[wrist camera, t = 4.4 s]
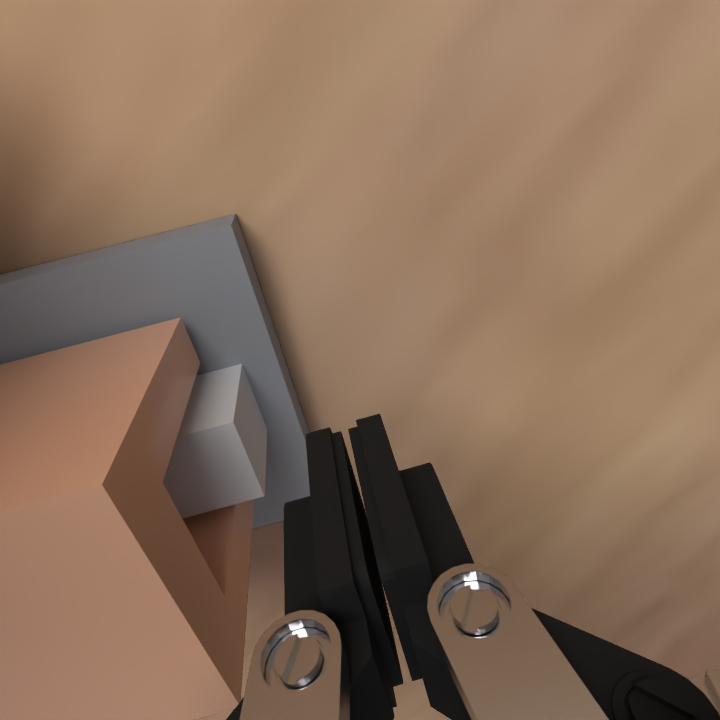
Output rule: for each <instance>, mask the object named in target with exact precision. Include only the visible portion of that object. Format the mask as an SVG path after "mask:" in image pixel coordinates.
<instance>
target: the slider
mask: <svg viewBox="0 0 720 720" xmlns="http://www.w3.org/2000/svg"><path fill="white" fill-rule="evenodd" d="M199 365H200V361H199V358H198V356H197V354H196V351H195V349H194V347H193V345H192V342H191V340H190V338H189V335H188V333H187V331H186V328H185V326H184V324H183V321H182V319H181V317H180V318H176V319H173V320H169V321H165V322H161V323H157V324H153V325H150V326H146V327H142V328H138V329H134V330H131V331H127V332H123V333H119V334H115V335H111V336H108V337H104V338H100V339H96V340H92V341H89V342H85V343H81V344H77V345H73V346H69V347H66V348H62V349H58V350H54V351H50V352H47V353H43V354H39V355H35V356H31V357H27V358H24V359H20V360H16V361H12V362H8V363H5V364H1V365H0V720H195V719H198V718H202V717H206V716H209V715H213V714H216V713H220V712H223V711H227V710H231V709H234V708H236V707H237V705H238V704H239V703H240V702H241V689H242V674H243V659H244V644H245V629H246V614H247V599H248V585H249V570H250V555H251V540H252V525H253V510H254V499H253V500H249V501H245V502H242V503H238V504H234V505H231V506H227V507H223V508H219V509H216V510H212V511H208V512H205V513H201V514H197V515H194V516H190V517H186V518H183V519H182V517H181V515H180V514H179V512H178V510H177V508H176V506H175V504H174V503H173V501H172V499H171V497H170V495H169V493H168V492H167V490H166V488H165V486H164V484H163V480H164V477H165V474H166V471H167V467H168V464H169V461H170V458H171V455H172V451H173V448H174V445H175V442H176V439H177V435H178V432H179V429H180V426H181V423H182V419H183V416H184V413H185V410H186V407H187V403H188V400H189V397H190V394H191V391H192V387H193V384H194V381H195V378H196V375H197V371H198V368H199Z"/></svg>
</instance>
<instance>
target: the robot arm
mask: <svg viewBox="0 0 720 720" xmlns="http://www.w3.org/2000/svg"><path fill="white" fill-rule="evenodd" d="M356 422H357V426H358V427H354V428H351V429H348V430H349V435H350V440H351V444H352V449H353V454H354V458H355V463H356V468H357V472H358V477H359V482H360V486H361V491H362V496H363V500H364V505H365V509H364V505H363V502H362V499H361V496H360V492H359V489H358V486H357V482H356V479H355V476H354V472H353V469H352V466H351V462H350V459H349V456H348V452H347V449H346V446H345V443H344V439H343V436H342V433H341V431H340V432H336V433H333V434H332V431H331V429H330V427H329V428H326V429H322V430H318V431H315V432H311V433H307V434H306V450H307V463H308V475H309V488H310V496H308V497H304V498H301V499H297V500H293V501H290V502H286V503H285V505H284V583H285V616H283V617H282V618H280V619H278V620H277V621H275V622H274V623H273V624H272V625H271V626H270V627H269V628H268V629H267V630H266V631H265V632H264V633H263V635H262V636H261V638H260V639H259V641H258V643H257V644H256V646H255V649H254V652H253V655H252V658H251V663H250V668H249V673H248V678H247V684H246V689H245V694H244V698H243V699H242V700H241V702H240V703H239V704H238V705H237V707H236V708H235V709H234V710H233V712H232V713H231V714H230V716H229V717H228V718H227V719H226V720H393V719H394V712H393V707H397V705H396V700H395V694H394V689H393V687H394V686H397V685H400V684H403V678H402V673H401V669H400V664H399V659H398V655H397V650H396V645H395V641H394V636H393V632H392V627H391V622H390V618H389V613H388V608H387V604H386V599H385V595H384V591H385V594H386V597H387V600H388V603H389V607H390V610H391V613H392V616H393V620H394V623H395V626H396V629H397V633H398V636H399V639H400V642H401V646H402V649H403V652H404V655H405V658H406V662H407V665H408V668H409V671H410V675H411V678H412V681H414V680H418V679H421V678H423V681H424V685H425V688H426V692H427V695H428V698H429V702H430V705H431V707H433V708H434V709H436V710H437V711H439V712H440V713H442V714H444V715H445V716H447V717H448V718H450V719H451V720H720V670H706V673H705V677H684V676H682V675H680V674H678V673H677V672H675V671H673V670H671V669H670V668H667V667H665V666H663V665H661V664H658V663H656V662H654V661H651V660H649V659H647V658H644V657H642V656H640V655H638V654H635V653H633V652H631V651H628V650H626V649H624V648H622V647H619V646H617V645H615V644H612V643H610V642H608V641H606V640H603V639H601V638H599V637H596V636H594V635H592V634H590V633H587V632H585V631H583V630H580V629H578V628H576V627H573V626H571V625H569V624H567V623H564V622H562V621H560V620H557V619H555V618H553V617H551V616H548V615H546V614H544V613H541V612H539V611H537V610H535V609H532V608H531V607H530V606H529V604H528V603H527V602H526V600H525V599H524V597H523V596H522V594H521V593H520V592H519V590H518V589H517V587H516V586H515V584H514V583H513V582H512V581H511V580H510V579H509V578H508V577H507V576H506V575H505V574H503V573H502V572H500V571H498V570H497V569H495V568H493V567H490V566H486V565H482V564H474V562H473V559H472V557H471V555H470V552H469V550H468V548H467V545H466V543H465V541H464V538H463V536H462V534H461V531H460V529H459V527H458V524H457V522H456V520H455V517H454V515H453V513H452V510H451V508H450V506H449V503H448V501H447V499H446V496H445V494H444V492H443V489H442V487H441V484H440V482H439V480H438V477H437V475H436V473H435V470H434V468H433V466H432V464H431V463H427V464H423V465H420V466H416V467H412V468H409V469H405V470H402V471H399V470H398V467H397V464H396V461H395V458H394V455H393V452H392V449H391V446H390V443H389V440H388V437H387V434H386V431H385V428H384V425H383V422H382V419H381V416H380V414H377V415H373V416H369V417H366V418H362V419H358V420H356ZM365 510H366V512H365ZM366 514H367V515H366ZM381 580H382V581H381ZM382 584H383V585H382ZM383 587H384V590H383Z"/></svg>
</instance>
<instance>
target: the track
mask: <svg viewBox="0 0 720 720" xmlns="http://www.w3.org/2000/svg"><path fill="white" fill-rule="evenodd" d="M180 317H181V319H182V321H183V324H184V326H185V328H186V331H187V333H188V335H189V338H190V340H191V342H192V345H193V347H194V349H195V351H196V354H197V356H198V358H199V361H200V365H199V368H198V371H197V375H196V378H195V381H194V384H193V387H192V391H191V394H190V397H189V400H188V403H187V407H186V410H185V413H184V416H183V419H182V423H181V426H180V429H179V432H178V435H177V439H176V442H175V445H174V448H173V451H172V455H171V458H170V461H169V464H168V467H167V471H166V474H165V477H164V480H163V484H164V486H165V488H166V490H167V492H168V493H169V495H170V497H171V499H172V501H173V503H174V504H175V506H176V508H177V510H178V512H179V514H180V515H181V517H182V519H183V518H186V517H190V516H194V515H197V514H201V513H205V512H208V511H212V510H216V509H219V508H223V507H227V506H231V505H234V504H238V503H242V502H245V501H249V500H253V499H254V510H253V525H252V529H256V528H259V527H263V526H267V525H270V524H274V523H278V522H281V521H284V505H285V503H286V502H290V501H293V500H297V499H301V498H304V497H308V496H310V488H309V475H308V463H307V450H306V434H307V433H309V430H308V427H307V424H306V421H305V418H304V415H303V412H302V409H301V406H300V403H299V401H298V398H297V395H296V392H295V389H294V386H293V383H292V380H291V377H290V374H289V371H288V368H287V365H286V362H285V359H284V356H283V353H282V350H281V347H280V344H279V341H278V338H277V335H276V332H275V329H274V326H273V323H272V320H271V317H270V314H269V311H268V308H267V305H266V302H265V299H264V296H263V293H262V290H261V287H260V284H259V281H258V279H257V276H256V273H255V270H254V267H253V264H252V261H251V258H250V255H249V252H248V249H247V246H246V243H245V240H244V237H243V234H242V231H241V228H240V225H239V222H238V219H237V216H236V214H233V215H230V216H226V217H222V218H218V219H214V220H210V221H206V222H202V223H198V224H195V225H191V226H187V227H183V228H179V229H175V230H171V231H167V232H164V233H160V234H156V235H152V236H148V237H144V238H140V239H136V240H133V241H129V242H125V243H121V244H117V245H113V246H109V247H105V248H102V249H98V250H94V251H90V252H86V253H82V254H78V255H74V256H70V257H67V258H63V259H59V260H55V261H51V262H47V263H43V264H39V265H36V266H32V267H28V268H24V269H20V270H16V271H12V272H8V273H5V274H1V275H0V365H1V364H5V363H8V362H12V361H16V360H20V359H24V358H27V357H31V356H35V355H39V354H43V353H47V352H50V351H54V350H58V349H62V348H66V347H69V346H73V345H77V344H81V343H85V342H89V341H92V340H96V339H100V338H104V337H108V336H111V335H115V334H119V333H123V332H127V331H131V330H134V329H138V328H142V327H146V326H150V325H153V324H157V323H161V322H165V321H169V320H173V319H176V318H180Z"/></svg>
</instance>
